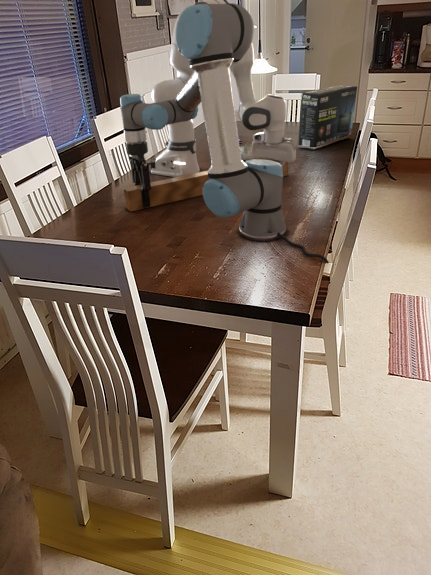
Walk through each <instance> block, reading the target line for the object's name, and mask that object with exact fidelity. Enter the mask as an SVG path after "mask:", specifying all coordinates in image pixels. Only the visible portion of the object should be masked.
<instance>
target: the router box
mask: <svg viewBox="0 0 431 575" xmlns="http://www.w3.org/2000/svg"><path fill="white" fill-rule="evenodd" d="M357 93H358V86H356V85H350V84H339V85H338V84H337V85H334V86H328V87H324V88H318V89H314V90H309V91H304V92H301V93H300V109H299V110H300V111H299V124H298V137H297V146H298V145H302V146H307V147H317V146H320V145H323V144H325V143H328V142H331V141H333V140H336V139H338V138H341V137H344V136H347V135H351V136H352V133H353V132H352V131H353V125H354V115H355V109H356V99H357ZM311 151H313V150H312V149H311Z"/></svg>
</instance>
